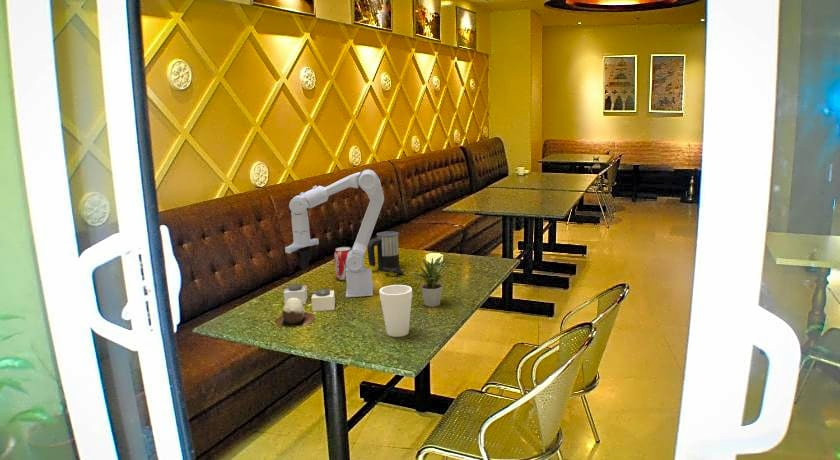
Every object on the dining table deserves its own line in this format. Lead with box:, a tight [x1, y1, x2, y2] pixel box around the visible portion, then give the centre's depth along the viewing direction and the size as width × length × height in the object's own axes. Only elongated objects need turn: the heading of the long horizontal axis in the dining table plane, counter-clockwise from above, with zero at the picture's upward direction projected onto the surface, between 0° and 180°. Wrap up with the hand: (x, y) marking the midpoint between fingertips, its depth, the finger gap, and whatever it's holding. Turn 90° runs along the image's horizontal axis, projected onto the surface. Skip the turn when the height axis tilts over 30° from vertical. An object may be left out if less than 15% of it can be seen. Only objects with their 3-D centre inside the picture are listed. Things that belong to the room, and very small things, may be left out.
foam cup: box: [379, 284, 413, 338], centre depth 164 cm, size 10×9×13 cm
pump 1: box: [282, 283, 303, 291], centre depth 196 cm, size 6×5×4 cm
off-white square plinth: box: [310, 289, 336, 312], centre depth 189 cm, size 7×7×4 cm
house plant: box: [408, 255, 450, 307], centre depth 188 cm, size 14×14×16 cm
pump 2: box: [309, 288, 331, 296], centre depth 189 cm, size 6×5×4 cm
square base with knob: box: [283, 284, 309, 305], centre depth 196 cm, size 7×7×4 cm
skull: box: [275, 298, 316, 328], centre depth 178 cm, size 12×10×10 cm
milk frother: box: [366, 231, 405, 275], centre depth 228 cm, size 14×16×15 cm
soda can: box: [333, 246, 352, 282], centre depth 220 cm, size 7×7×12 cm
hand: (304, 268), depth 199 cm, fingers closed
